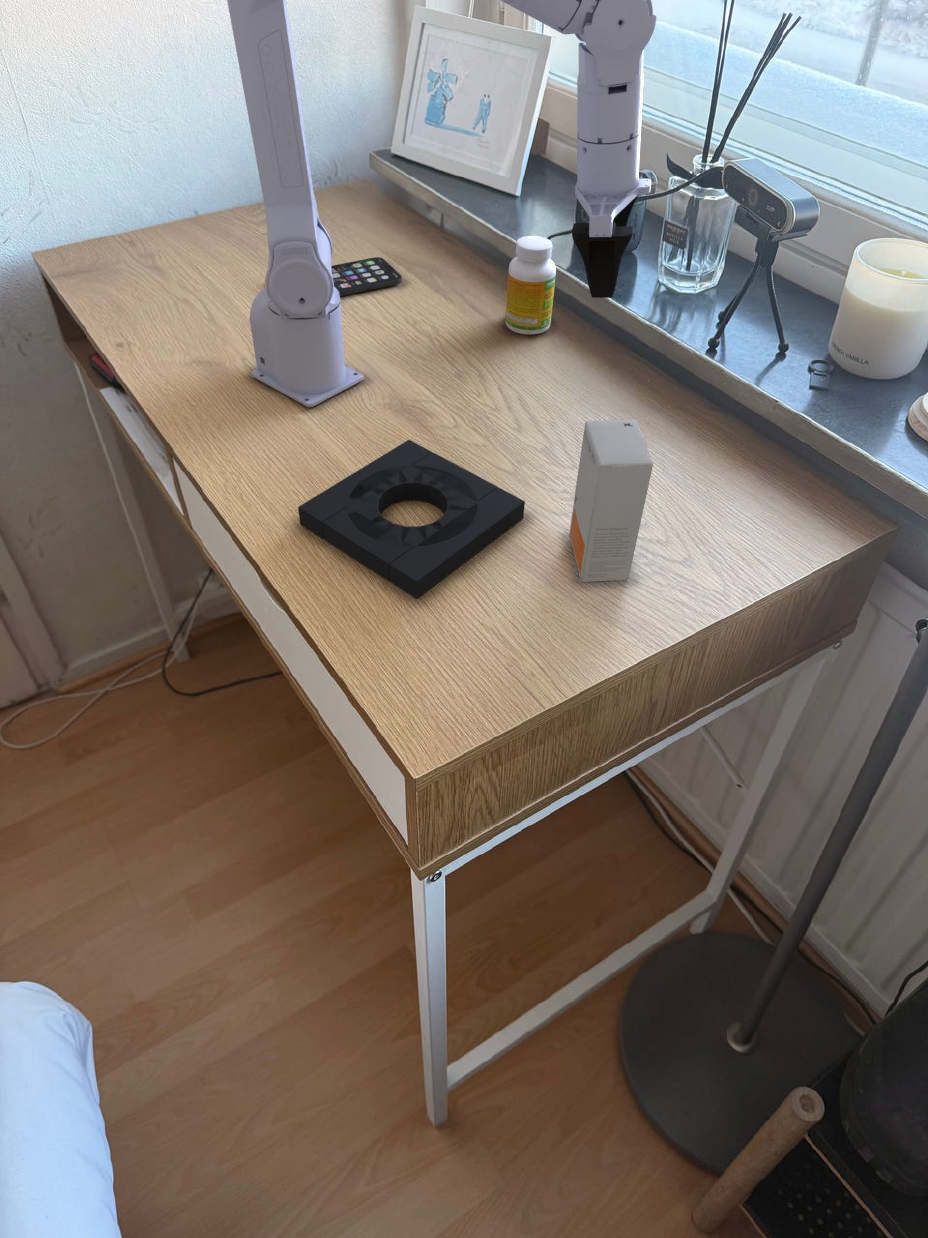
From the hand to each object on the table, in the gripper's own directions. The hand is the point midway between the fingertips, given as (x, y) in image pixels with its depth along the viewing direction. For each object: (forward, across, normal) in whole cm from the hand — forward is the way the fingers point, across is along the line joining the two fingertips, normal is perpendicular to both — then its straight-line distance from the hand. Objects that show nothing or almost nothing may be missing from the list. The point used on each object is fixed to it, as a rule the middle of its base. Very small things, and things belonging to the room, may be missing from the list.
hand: (605, 277), depth 89 cm
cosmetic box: (+10, -32, -2) cm, 33 cm away
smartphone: (+7, +13, +34) cm, 37 cm away
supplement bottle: (+10, +8, +10) cm, 16 cm away
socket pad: (+8, -30, +14) cm, 34 cm away
